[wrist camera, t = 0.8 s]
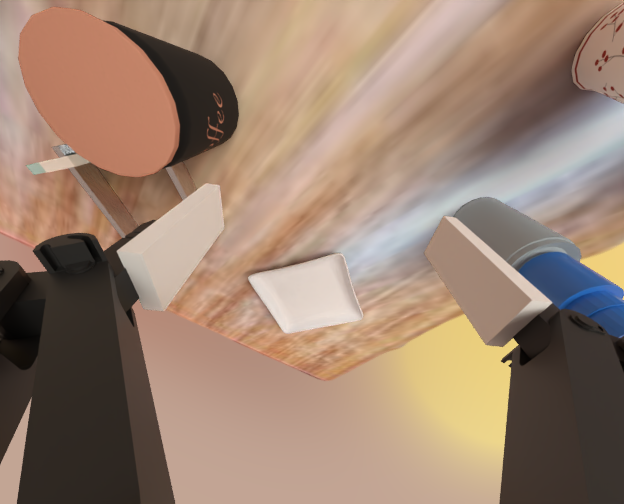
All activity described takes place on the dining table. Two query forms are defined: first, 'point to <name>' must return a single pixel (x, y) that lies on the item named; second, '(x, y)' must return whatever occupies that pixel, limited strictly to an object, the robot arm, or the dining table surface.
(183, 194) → the open-ended rimmed tray
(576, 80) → the vase
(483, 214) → the spray bottle
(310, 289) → the salad plate
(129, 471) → the robot arm
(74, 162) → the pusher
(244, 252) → the dining table surface
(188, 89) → the coffee jar
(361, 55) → the dining table surface
